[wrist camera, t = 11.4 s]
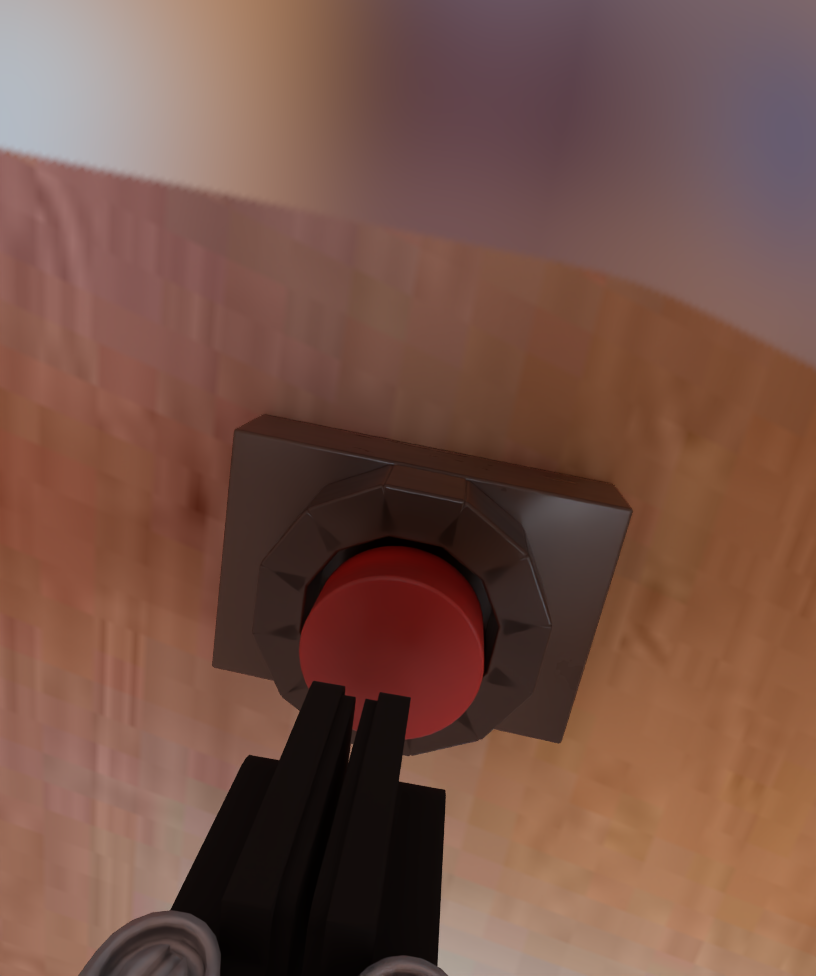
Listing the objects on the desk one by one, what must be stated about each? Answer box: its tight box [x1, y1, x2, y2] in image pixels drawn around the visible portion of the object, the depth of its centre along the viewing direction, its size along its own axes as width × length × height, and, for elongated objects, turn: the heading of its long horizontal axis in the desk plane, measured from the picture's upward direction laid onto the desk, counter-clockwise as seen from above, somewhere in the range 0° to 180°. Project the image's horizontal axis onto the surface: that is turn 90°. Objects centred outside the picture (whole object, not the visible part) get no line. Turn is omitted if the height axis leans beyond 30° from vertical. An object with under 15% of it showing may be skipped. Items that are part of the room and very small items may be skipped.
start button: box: [299, 546, 484, 739], centre depth 14 cm, size 4×4×2 cm
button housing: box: [212, 415, 633, 756], centre depth 16 cm, size 10×7×4 cm
